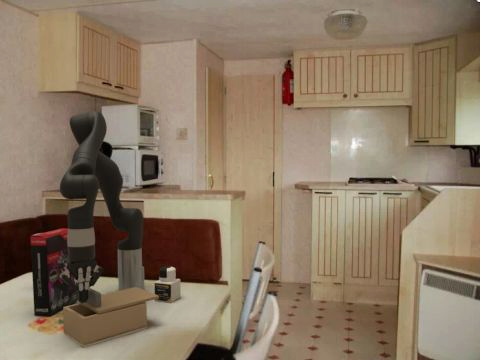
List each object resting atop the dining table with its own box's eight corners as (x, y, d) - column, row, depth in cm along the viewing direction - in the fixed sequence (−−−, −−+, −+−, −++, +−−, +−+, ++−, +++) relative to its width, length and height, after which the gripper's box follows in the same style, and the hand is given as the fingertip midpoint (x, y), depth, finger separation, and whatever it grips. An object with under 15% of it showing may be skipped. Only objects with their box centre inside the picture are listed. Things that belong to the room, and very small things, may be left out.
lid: (136, 289, 146) (136, 275, 146) (159, 298, 136) (158, 283, 136) (78, 302, 133) (77, 287, 132) (98, 313, 122) (98, 297, 122)
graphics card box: (49, 317, 144) (47, 235, 143) (31, 316, 145) (29, 235, 144) (78, 301, 161) (77, 228, 160) (62, 300, 162) (60, 227, 161)
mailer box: (124, 316, 144) (124, 293, 143) (146, 328, 133) (146, 302, 133) (63, 333, 130) (63, 307, 130) (83, 347, 120) (82, 318, 119)
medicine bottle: (154, 300, 160) (153, 268, 160) (164, 295, 167) (164, 264, 166) (171, 303, 158) (170, 270, 157) (180, 297, 164) (180, 266, 164)
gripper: (97, 238, 133) (98, 294, 134) (53, 244, 124) (54, 304, 125) (108, 242, 128) (109, 300, 128) (63, 248, 119) (64, 310, 119)
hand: (82, 302), depth 127 cm, fingers closed
